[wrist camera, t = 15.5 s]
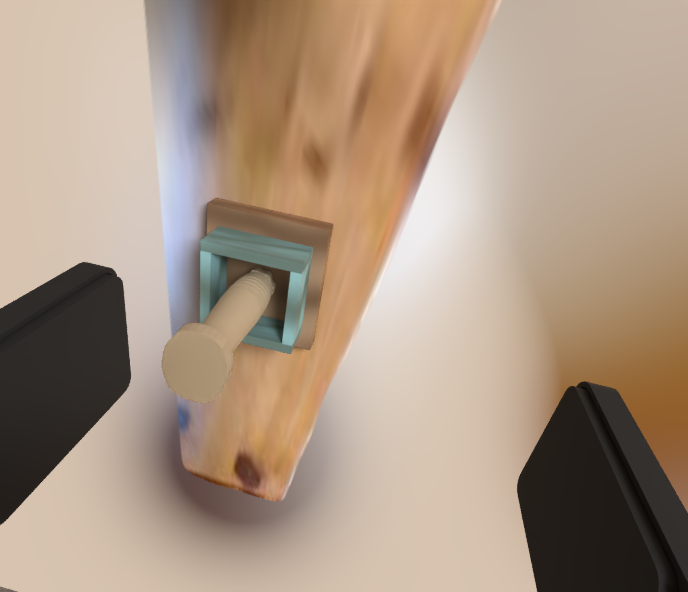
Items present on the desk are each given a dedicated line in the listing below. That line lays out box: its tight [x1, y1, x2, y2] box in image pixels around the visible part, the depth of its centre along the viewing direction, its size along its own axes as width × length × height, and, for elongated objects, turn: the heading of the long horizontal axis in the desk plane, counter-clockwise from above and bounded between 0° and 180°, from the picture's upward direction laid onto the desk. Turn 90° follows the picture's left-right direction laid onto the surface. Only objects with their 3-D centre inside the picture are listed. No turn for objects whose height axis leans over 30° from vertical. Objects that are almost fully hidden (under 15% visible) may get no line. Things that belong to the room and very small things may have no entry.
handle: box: [162, 267, 276, 403], centre depth 38 cm, size 5×6×15 cm
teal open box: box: [200, 198, 333, 354], centre depth 44 cm, size 14×12×6 cm
